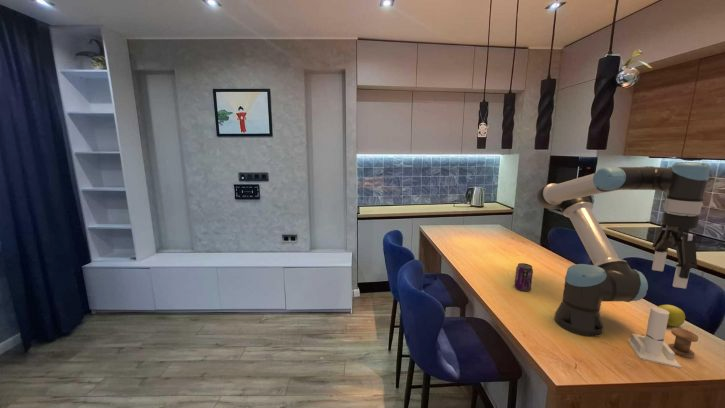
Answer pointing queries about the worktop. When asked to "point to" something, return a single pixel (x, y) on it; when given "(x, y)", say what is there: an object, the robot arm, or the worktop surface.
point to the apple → (674, 315)
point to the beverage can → (523, 277)
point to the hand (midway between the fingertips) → (667, 278)
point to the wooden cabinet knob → (683, 342)
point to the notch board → (664, 358)
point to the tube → (656, 330)
